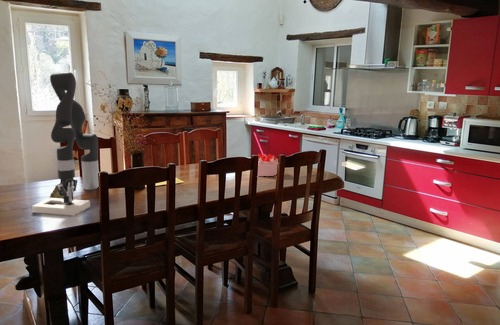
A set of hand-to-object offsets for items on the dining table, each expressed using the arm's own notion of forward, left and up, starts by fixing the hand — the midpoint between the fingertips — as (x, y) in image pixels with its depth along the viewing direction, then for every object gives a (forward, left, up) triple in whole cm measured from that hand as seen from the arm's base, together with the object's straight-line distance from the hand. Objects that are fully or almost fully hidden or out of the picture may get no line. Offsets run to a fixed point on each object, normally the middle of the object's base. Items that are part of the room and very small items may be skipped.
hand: (68, 201), depth 190 cm
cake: (-103, +87, -5) cm, 135 cm away
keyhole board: (0, -4, -5) cm, 6 cm away
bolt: (0, 0, -4) cm, 4 cm away
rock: (-15, -16, -5) cm, 22 cm away
